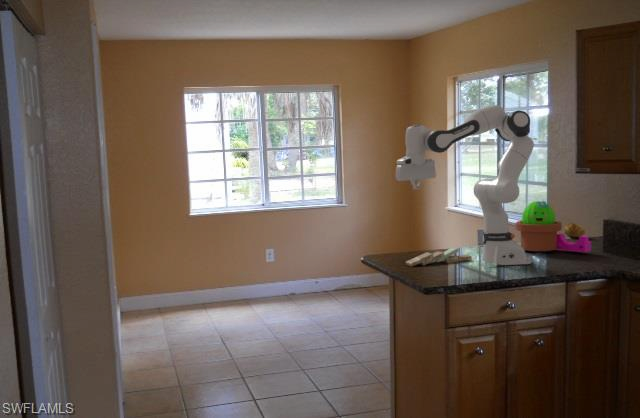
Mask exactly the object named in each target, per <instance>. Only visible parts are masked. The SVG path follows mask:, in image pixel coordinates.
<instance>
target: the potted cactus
mask: <svg viewBox="0 0 640 418" xmlns="http://www.w3.org/2000/svg"><path fill="white" fill-rule="evenodd" d="M521 217H522V219H521V220H519V221H516V222H515V229H516V231H519V232H520V246H521V247H523V248H524V250H525V251H530V252H552V251H555V250H557V249H556V248H557V234H558V232H561V231H562V225H563V224H562V222H561V221H559V220H556V217H557V216H556V215H555V211H554V208H552V207H551V206H550V205H549V204H548V202H546V201H545V200H543V201H542V200H541V201H540V200H536V201H531V202H530V203H528V205H527V206H526V207H525V208H524V209H523V212H522V216H521Z"/></svg>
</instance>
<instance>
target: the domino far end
mask: <svg viewBox="0 0 640 418" xmlns="http://www.w3.org/2000/svg"><path fill="white" fill-rule="evenodd" d="M432 257H433V253H430V252H428V251H427V252H424V253H422V254H420V255H417V256H416V257H413V258H411V259H409V260H406V261H405V265H406V266H408V267H414V266H417V265H420V264H419V263H421V262H423V261H426V260H428V259H430V258H432Z"/></svg>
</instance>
